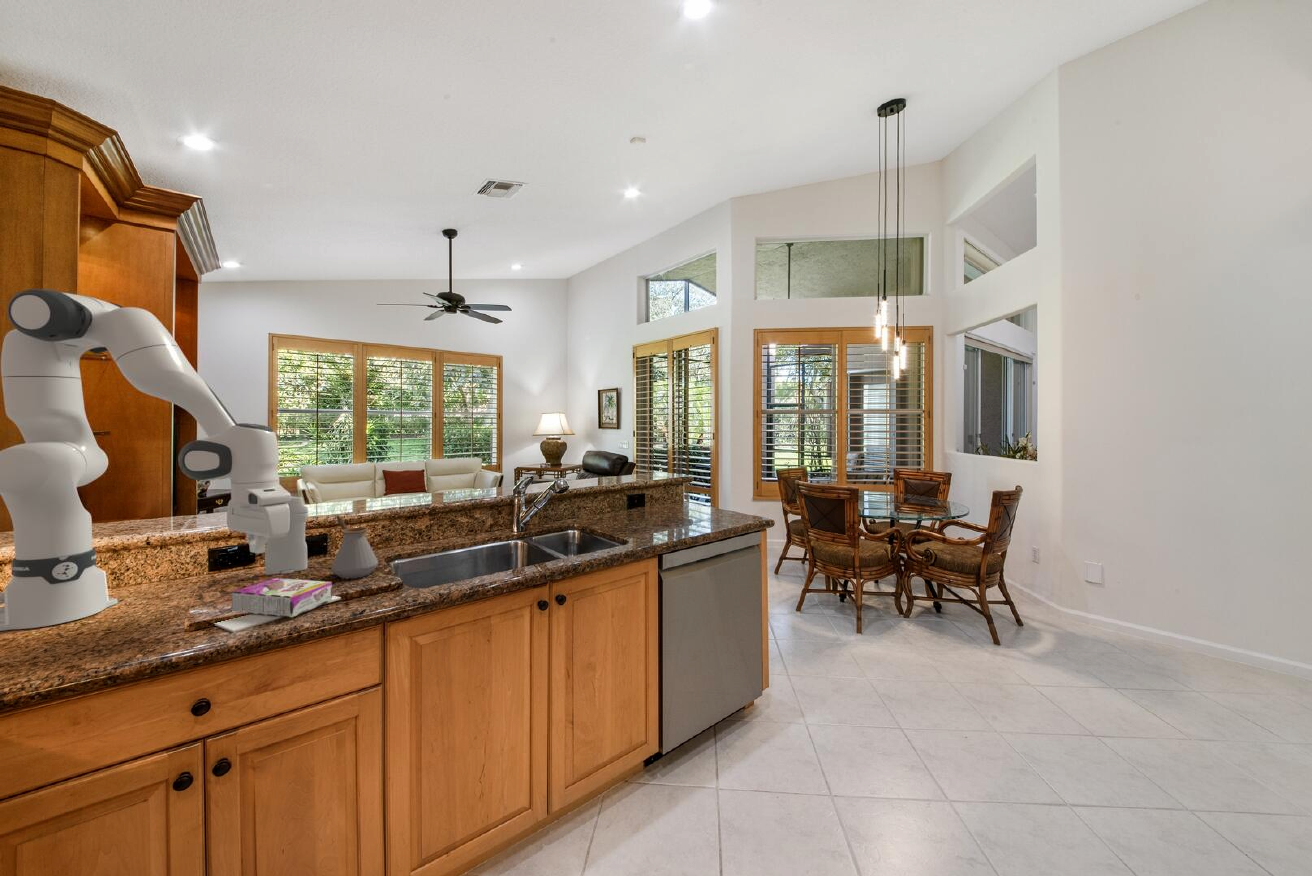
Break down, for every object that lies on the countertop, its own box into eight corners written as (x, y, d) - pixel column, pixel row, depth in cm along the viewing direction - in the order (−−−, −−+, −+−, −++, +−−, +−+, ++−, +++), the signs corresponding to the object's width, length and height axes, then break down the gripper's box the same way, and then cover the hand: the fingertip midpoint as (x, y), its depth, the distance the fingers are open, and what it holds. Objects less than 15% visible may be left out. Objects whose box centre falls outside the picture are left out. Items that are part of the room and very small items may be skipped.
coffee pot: (384, 574, 144) (383, 522, 143) (338, 583, 135) (337, 528, 135) (358, 560, 158) (358, 512, 158) (316, 567, 150) (315, 517, 149)
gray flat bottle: (308, 566, 151) (306, 493, 150) (309, 569, 148) (308, 495, 147) (263, 573, 144) (261, 497, 143) (264, 577, 141) (262, 498, 140)
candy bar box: (275, 576, 124) (333, 580, 121) (275, 596, 125) (333, 601, 122) (229, 590, 114) (291, 596, 110) (230, 612, 114) (291, 619, 111)
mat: (203, 620, 110) (203, 618, 110) (310, 590, 130) (310, 589, 130) (233, 632, 104) (233, 630, 104) (340, 599, 124) (340, 597, 124)
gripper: (217, 492, 119) (218, 550, 119) (263, 498, 110) (264, 561, 110) (248, 488, 124) (250, 544, 125) (295, 494, 115) (296, 554, 116)
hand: (257, 552), depth 117 cm, fingers closed
